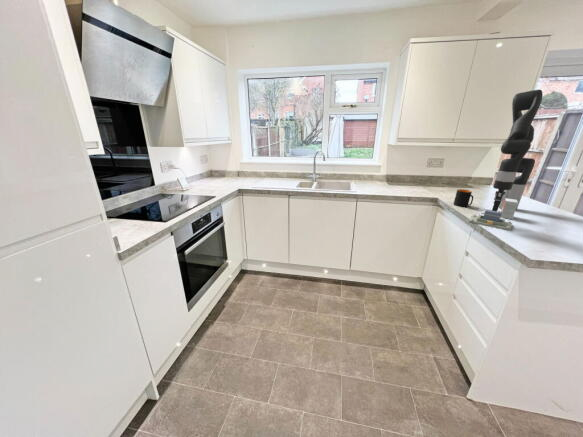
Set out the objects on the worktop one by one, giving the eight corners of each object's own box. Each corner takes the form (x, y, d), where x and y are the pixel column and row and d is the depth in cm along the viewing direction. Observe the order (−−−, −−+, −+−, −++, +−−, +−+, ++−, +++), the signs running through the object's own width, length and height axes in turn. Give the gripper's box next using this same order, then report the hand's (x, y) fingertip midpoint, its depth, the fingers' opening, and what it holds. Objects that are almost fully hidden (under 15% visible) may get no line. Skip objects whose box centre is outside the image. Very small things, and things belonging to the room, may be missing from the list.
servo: (480, 218, 134) (483, 207, 132) (501, 222, 128) (505, 211, 126) (479, 220, 131) (482, 209, 129) (501, 224, 125) (505, 213, 123)
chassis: (471, 216, 140) (472, 212, 139) (511, 224, 128) (513, 220, 127) (468, 222, 132) (469, 217, 131) (510, 230, 120) (512, 226, 119)
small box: (499, 214, 145) (505, 197, 141) (511, 216, 142) (517, 199, 138) (499, 217, 139) (505, 200, 135) (512, 219, 136) (518, 202, 132)
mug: (464, 208, 154) (469, 193, 151) (450, 203, 166) (454, 189, 162) (475, 208, 156) (480, 193, 152) (460, 203, 167) (464, 189, 163)
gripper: (496, 176, 128) (487, 204, 134) (494, 180, 119) (485, 210, 124) (514, 178, 124) (504, 207, 129) (513, 182, 114) (503, 213, 120)
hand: (495, 209), depth 127 cm, fingers open, 8 cm apart
